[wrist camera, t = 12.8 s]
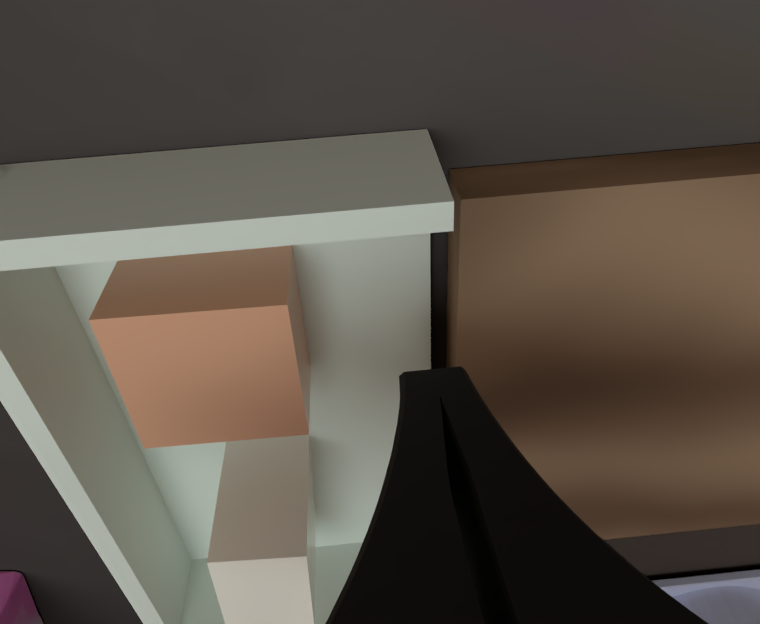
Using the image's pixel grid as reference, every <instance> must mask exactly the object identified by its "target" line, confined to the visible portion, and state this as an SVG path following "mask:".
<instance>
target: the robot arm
mask: <svg viewBox="0 0 760 624" xmlns="http://www.w3.org/2000/svg"><path fill="white" fill-rule="evenodd" d="M399 386H400V404H399V413H398V421H397V427H396V432H395V437H394V442H393V447H392V452H391V456H390V460H389V464H388V468H387V471H386V475H385V479H384V482H383V486H382V490H381V493H380V496H379V499H378V502H377V505H376V508H375V511H374V514H373V517H372V520H371V522H370V525H369V528H368V531H367V533H366V536H365V538H364V541H363V543H362V546H361V548H360V551H359V553H358V556H357V558H356V560H355V563H354V565H353V567H352V570H351V572H350V574H349V576H348V579H347V581H346V583H345V585H344V587H343V589H342V591H341V593H340V595H339V597H338V599H337V601H336V603H335V605H334V607H333V609H332V611H331V614H330V616H329V618H328V619H327V621H326V623H325V624H760V569H756V570H747V571H737V572H728V573H718V574H709V575H699V576H690V577H680V578H670V579H661V580H650V579H649V578H647V577H646V576H645V575H644V574H642V573H641V572H640V571H638V570H637V569H636V568H635V567H634V566H633V565H632V564H630V563H629V562H628V561H627V560H626V559H625V558H624V557H622V556H621V555H620V554H619V553H618V552H617V551H615V550H614V549H613V548H612V547H611V546H610V545H609V544H607V543H606V542H605V541H604V540H603V539H602V538H601V537H599V536H598V535H597V534H596V533H595V532H594V531H593V530H592V529H591V528H590V527H589V526H588V525H587V524H586V523H585V522H584V521H583V520H582V519H580V518H579V517H578V516H577V515H576V514H575V513H574V512H573V511H572V510H571V509H570V508H569V507H568V505H567V504H566V503H565V502H564V501H563V500H562V499H561V498H560V497H559V496H558V495H557V494H556V493H555V492H554V491H553V490H552V489H551V488H550V486H549V485H548V484H547V483H546V482H545V481H544V480H543V479H542V477H541V476H540V475H539V474H538V473H537V472H536V470H535V469H534V468H533V467H532V466H531V464H530V463H529V462H528V461H527V460H526V458H525V457H524V456H523V455H522V453H521V452H520V451H519V450H518V448H517V447H516V446H515V444H514V443H513V442H512V440H511V439H510V438H509V436H508V435H507V434H506V432H505V431H504V430H503V428H502V427H501V426H500V424H499V423H498V421H497V420H496V419H495V417H494V416H493V414H492V413H491V411H490V410H489V408H488V407H487V405H486V404H485V402H484V401H483V399H482V398H481V396H480V394H479V393H478V391H477V389H476V388H475V386H474V384H473V383H472V381H471V379H470V377H469V375H468V373H467V371H466V370H465V369H464V368H462V367H461V366H460V367H450V368H439V369H428V370H417V371H407V372H403V373H402V374H401V375H400V376H399Z"/></svg>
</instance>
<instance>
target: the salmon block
mask: <svg viewBox="0 0 760 624" xmlns="http://www.w3.org/2000/svg"><path fill="white" fill-rule="evenodd" d="M89 323H90V325H91V327H92V330H93V332H94V334H95V337H96V339H97V341H98V343H99V346H100V348H101V350H102V353H103V355H104V357H105V360H106V362H107V364H108V367H109V369H110V371H111V373H112V376H113V378H114V380H115V383H116V385H117V387H118V390H119V392H120V394H121V396H122V399H123V401H124V403H125V406H126V408H127V410H128V413H129V415H130V417H131V420H132V422H133V424H134V426H135V429H136V431H137V433H138V436H139V438H140V440H141V443H142V445H143V447H144V449H145V448H156V447H168V446H180V445H192V444H203V443H215V442H227V441H239V440H250V439H262V438H274V437H286V436H297V435H309V421H310V373H311V364H310V357H309V350H308V344H307V337H306V330H305V324H304V317H303V310H302V304H301V297H300V290H299V284H298V277H297V270H296V264H295V257H294V250H293V245H290V246H278V247H267V248H256V249H244V250H233V251H222V252H211V253H199V254H188V255H177V256H165V257H154V258H143V259H131V260H120V261H117V263H116V265H115V267H114V269H113V271H112V273H111V275H110V277H109V279H108V281H107V283H106V285H105V287H104V289H103V291H102V293H101V295H100V297H99V299H98V301H97V303H96V306H95V308H94V310H93V312H92V314H91V316H90V318H89Z"/></svg>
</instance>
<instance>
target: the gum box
mask: <svg viewBox="0 0 760 624" xmlns="http://www.w3.org/2000/svg"><path fill="white" fill-rule="evenodd" d="M0 624H43V621H42V619H41V617H40V616H39V614H38V612H37V609H36V606H35V604H34V601H33V598H32V596H31V593H30V591H29V588H28V586H27V583H26V581H25V578H24V576H23V574H21V573H19V572H15V571H0Z"/></svg>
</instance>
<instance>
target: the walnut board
mask: <svg viewBox="0 0 760 624" xmlns="http://www.w3.org/2000/svg"><path fill="white" fill-rule="evenodd" d="M449 189H450V192H451V194H452V197H453V200H454V229H453V231H448V269H447V331H446V368H450V367H460V366H461V367H462V368H464V369H465V370H466V371H467V373H468V375H469V377H470V379H471V381H472V383H473V384H474V386H475V388H476V389H477V391H478V393H479V394H480V396H481V398H482V399H483V401H484V402H485V404H486V405H487V407H488V408H489V410H490V411H491V413H492V414H493V416H494V417H495V419H496V420H497V421H498V423H499V424H500V426H501V427H502V428H503V430H504V431H505V432H506V434H507V435H508V436H509V438H510V439H511V440H512V442H513V443H514V444H515V446H516V447H517V448H518V450H519V451H520V452H521V453H522V455H523V456H524V457H525V458H526V460H527V461H528V462H529V463H530V464H531V466H532V467H533V468H534V469H535V470H536V472H537V473H538V474H539V475H540V476H541V477H542V479H543V480H544V481H545V482H546V483H547V484H548V485H549V486H550V488H551V489H552V490H553V491H554V492H555V493H556V494H557V495H558V496H559V497H560V498H561V499H562V500H563V501H564V502H565V503H566V504H567V505H568V507H569V508H570V509H571V510H572V511H573V512H574V513H575V514H576V515H577V516H578V517H579V518H580V519H582V520H583V521H584V522H585V523H586V524H587V525H588V526H589V527H590V528H591V529H592V530H593V531H594V532H595V533H596V534H597V535H598V536H599V537H601V538H602V539H603V540H607V539H616V538H626V537H636V536H646V535H655V534H665V533H675V532H685V531H694V530H704V529H714V528H724V527H733V526H743V525H753V524H760V143H751V144H739V145H728V146H716V147H704V148H693V149H681V150H669V151H658V152H646V153H634V154H623V155H611V156H599V157H588V158H576V159H565V160H553V161H541V162H530V163H518V164H506V165H495V166H483V167H471V168H460V169H449Z"/></svg>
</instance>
